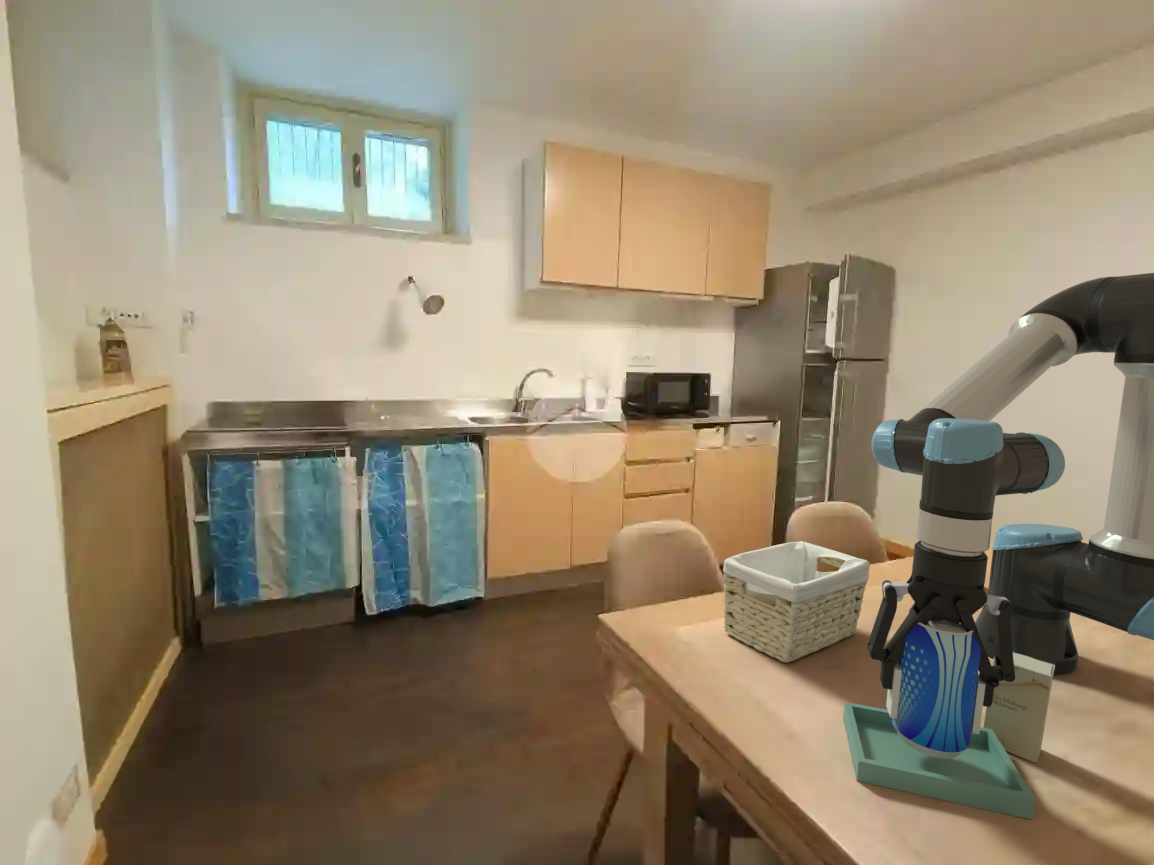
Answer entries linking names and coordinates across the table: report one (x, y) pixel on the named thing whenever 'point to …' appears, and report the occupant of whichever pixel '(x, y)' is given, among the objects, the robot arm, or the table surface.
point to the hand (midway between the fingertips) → (930, 719)
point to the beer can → (938, 688)
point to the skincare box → (1021, 707)
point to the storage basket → (792, 598)
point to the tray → (935, 765)
